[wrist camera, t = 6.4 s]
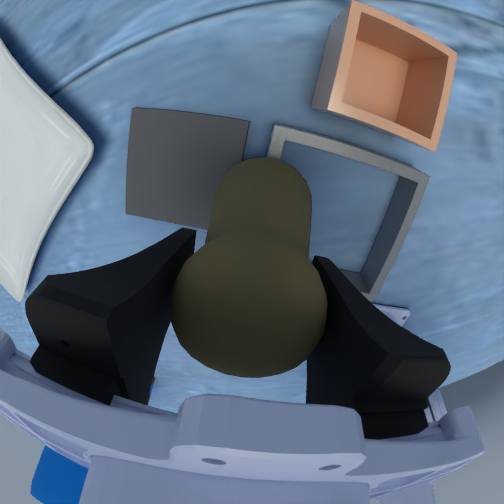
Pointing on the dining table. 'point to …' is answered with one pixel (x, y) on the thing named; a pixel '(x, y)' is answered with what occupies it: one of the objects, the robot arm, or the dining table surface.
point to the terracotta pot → (385, 75)
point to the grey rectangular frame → (398, 211)
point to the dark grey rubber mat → (179, 163)
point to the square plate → (32, 169)
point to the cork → (253, 276)
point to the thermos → (59, 477)
